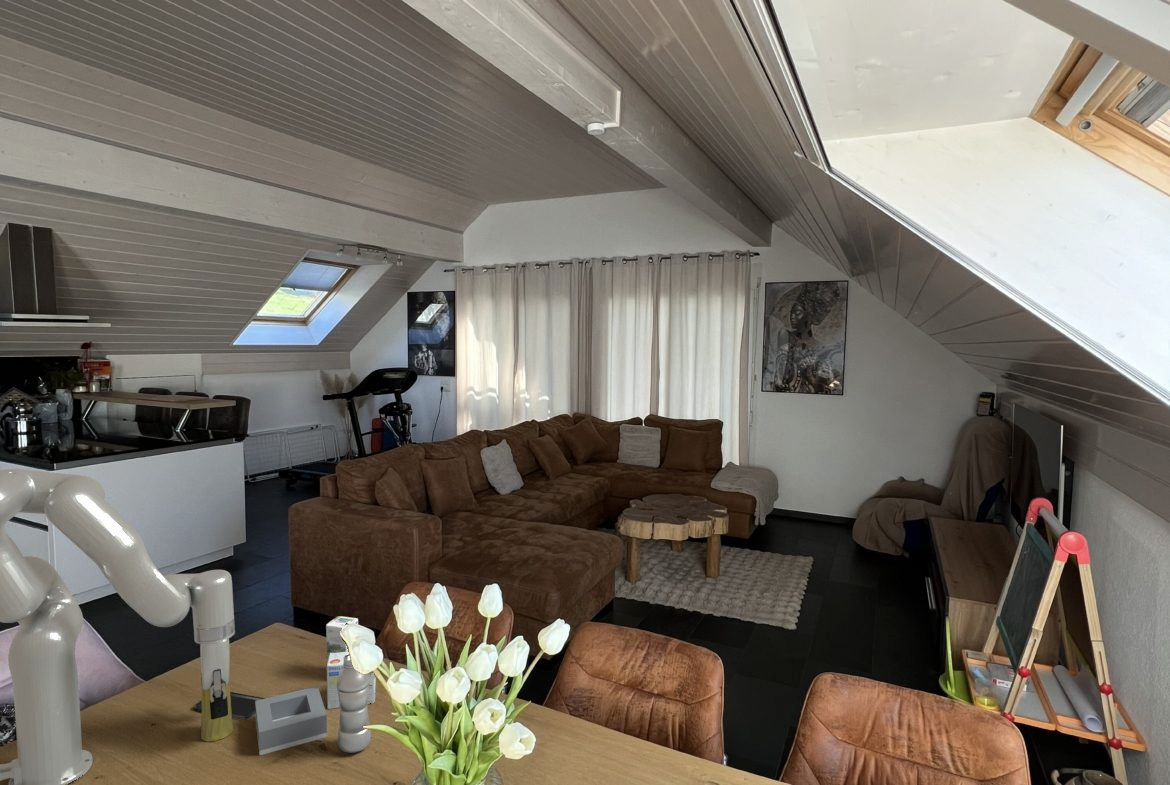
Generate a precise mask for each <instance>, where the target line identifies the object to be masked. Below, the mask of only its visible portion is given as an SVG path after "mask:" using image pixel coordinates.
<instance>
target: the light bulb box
mask: <svg viewBox="0 0 1170 785" xmlns="http://www.w3.org/2000/svg"><path fill="white" fill-rule="evenodd" d="M347 654H349V652H348V651H347V652H338V653H330V655H329V659H328V663H327V662H326V687H327V688H326V692H327V693H326V698H327V699H326V700H327V702H326V703H327V706H326V707H327V710H331V709H340V705H339V697H338V692H337V685H336V682H337V679H338V677H339V675H340V673H341V672H342V671H343V669H344V667H343V663H344V656H345V655H347ZM368 675H369V677H370V683H369V690H368V703H367V704H368V705H369V704H370V703H371V704H374V702H376V694H375V693H376V692H377V676H376V677H375V675H374V673H369V674H368ZM371 704H370V705H371Z"/></svg>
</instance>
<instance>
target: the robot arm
mask: <svg viewBox="0 0 1170 785" xmlns="http://www.w3.org/2000/svg"><path fill="white" fill-rule="evenodd" d="M105 494H106V492H105V489H104V487H103V485H102V484H101V483H100V482H99V481H97V480H96V479H94V478H92V477H90V476H85V475H80V474H79V475H78V474H71V473H59V472H48V471H40V470H38V471H37V470H28V469H18V468H15V469H13V468H12V469H11V468H10V469H9V468H8V469H1V470H0V623H4V624H5V623H6V624H9V623H10V624H13V623H18V624H19V626H20V627H19V629H18V630H17V631H16V633H15V635H14V637H13V639H12V640H11V643H10V646H9V649H8V655H7V656H8V657H7V658H8V659H7V660H8V669H9V672H10V676H11V682H12V688H13V702H14V704H13V705H14V713H15V714H14V715H15V716H14V717H15V729H16V730H15V731H16V733H15V734H16V745H17V746H16V748H17V758H15V759H12V760H11V762H7V763H1V764H0V782H2V781H4V780H7V779H9V781H8V785H65V784H68V783H70V782H72V781H74V780H76V779H77V780H79V779H80V778H81V777H83V776H84V775H85V774H86V773H87V772H88V771H89V770H90V769H91V767H92V765H93V754H92V753H91V752H90V751H88V750H86V749H83V743H82V741H83V740H82V727H81V725H82V724H81V705H80V689H79V677H78V676H79V675H78V668H77V660H76V643H77V641H78V638H79V635H80V634H81V630H82V629H83V628H82V627H83V624H84V615H83V612H82V610H81V608H80V606H79V604H78V602H77V601H76V599H75V598H74V596H73V595H72V593H71V591H70V590H69V588H68V587H67V585H66V583H65V582H64V580H63V579H62V577H61V575H60V574H59V572H58V571H57V570H56V568H55V567H54V566H53V565H52V564H51V563H49V562H48V561H47V560H45V559H43V558H40V557H37V556H33V555H32V556H31V555H29V556H28V555H25V556H24V555H23V554H22V552H21V551H20V549H19V546H18V545H17V544H16V542H15V541H14V540H13V538H11V537H10V535H8V533H6V531H5V525H6V524H7V523H8V521H10V520H11V519H13V518H14V517H15V516H16V515H17V514H18V513H27V514H38V515H39V514H41V515H45V516H46V518H47V519H48V521H49V522H50V523H51V524H52V525H53V526H54V527H55V528H56V529H58V531H60V532H61V534H63V535H64V536H65V537H66V538H67V539H69V540H70V541H71V542H72V543H73V544H74V545H75V546H76V547H77V548H78V549H80V550H81V551H82V552H83V553H84V555H86V556H87V557H88V558H89V559H90V560H91V561H92V562H93V563H94V564H95V565H96V566H97V567H98V568H99V570H100V571H101V574H102V575H103V576H104V578H106V580H107V581H108V582H109V584H110V585H111V586H112V587H113V589H114V590H115V591H116V593H117V594H118V595H119V596H120V598H121V599H122V600H123V601H124V602H125V603H126V604H127V605H128V606H129V607H130V608H131V609H133V611H135V612H136V614H138V615H139V616H140V617H141V618H142V619H144V620H145V621H146V622H147V623H148V624H151V625H153V626H155V627H158V628H169V627H173V626H175V625H177V624H180V622H181V621H183V620H184V619H185V618H186V617H187V615H188V613H189V612H190V608H191V609H192V621H193V637H194V642H195V644H199V645H200V646H199V647H200V648H199V649H200V654H199V655H200V668H201V672H202V685H201V690H202V689H203V690H204V691H206V690H208V689H209V688H210V692H211V700H210V714H211V719H212V720H213V719H217V718H220V717H224V716H227V715H228V701H227V696H226V690H225V685H227V684H228V683H229V684H230V664H231V663H230V659H231V658H230V655H231V654H230V638H232V637H233V636H234V635H235V634H236V631H235V630H236V629H235V628H236V627H235V626H236V625H235V613H234V612H235V611H234V610H235V609H234V595H233V594H234V592H233V580H232V575H231V572H229V571H227V570H225V569H211V570H206V571H203V572H200V573H174V574H167V575H163V574H162V573H161V572H160V571H159V569H158V568H157V567H156V565H155V564H154V562H153V561H152V559H151V558H150V555H149V554H148V551H147V548H146V546H145V542H144V540H143V538H142V536H141V534H140V533H139V532H138V531H137V530H136V529H135V528H134V527H133V526H132V525H131V524H130V523H129V522H128V521H127V520H126V519H124V518H123V517H122V515H120V514H119V513H118V512H117V511H116V510H115V509H114V508H113V507H112V506H111V505H110V504H109V503H108V502H107V501H106V500H105V498H106V497H105ZM220 670H221V671H220ZM220 674H221V675H220ZM221 681H223V683H221ZM213 683H214V685H213V686H212V684H213ZM222 687H223V691H221V688H222ZM213 690H214V693H213ZM82 775H83V776H82ZM79 777H80V778H79ZM78 778H79V779H78ZM77 780H76V781H77ZM74 782H75V781H74Z"/></svg>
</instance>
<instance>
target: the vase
mask: <svg viewBox="0 0 1170 785" xmlns="http://www.w3.org/2000/svg"><path fill="white" fill-rule="evenodd" d="M220 671H221V670H220ZM220 675H221V674H220ZM200 682H201V686H202V671H201V672H200ZM221 683H223V681H221ZM213 685H214V683H213V684H212V686H213ZM225 690H226V696H227V701H228V715H227V716H224V717H220V718H217V719H213V720H212V719H211V714H210V700H211V692H210V688H209V689H208V690H206V691H204V690H203V689H202V688H201V700H202V712H201V719H200V720H201V721H200V723H201V725H200V726H201V728H200V729H201V730H200V731H201V732H200V738H201V740H203V741H204V742H208V743H210V742H217V741H220V740H223V739H225V738H226V737H229V736H230V735H231V734H232V732H233V730H234V727H233V718H232V712H231V698H230V692H231V685H230V682H229V683H228V684H227V685H225ZM221 691H223V687H222V688H221ZM213 693H214V690H213Z"/></svg>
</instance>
